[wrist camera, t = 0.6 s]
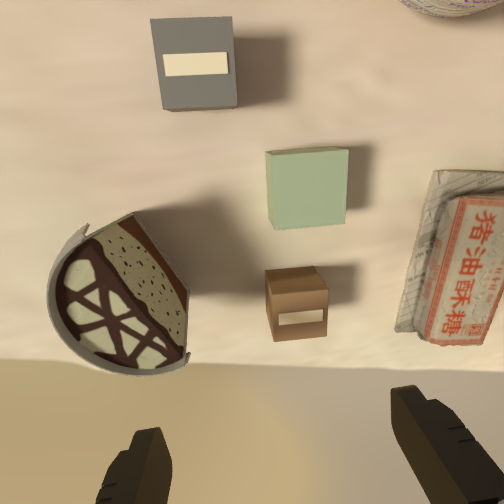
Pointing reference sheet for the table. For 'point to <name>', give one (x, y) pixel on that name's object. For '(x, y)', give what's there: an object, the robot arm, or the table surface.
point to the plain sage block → (306, 187)
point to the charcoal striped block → (195, 63)
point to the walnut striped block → (296, 303)
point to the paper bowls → (449, 6)
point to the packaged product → (456, 260)
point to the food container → (119, 301)
